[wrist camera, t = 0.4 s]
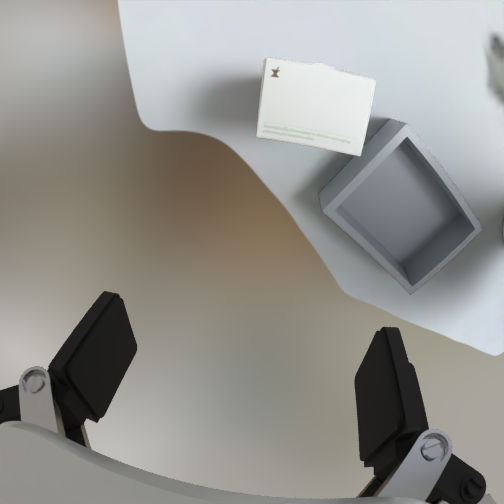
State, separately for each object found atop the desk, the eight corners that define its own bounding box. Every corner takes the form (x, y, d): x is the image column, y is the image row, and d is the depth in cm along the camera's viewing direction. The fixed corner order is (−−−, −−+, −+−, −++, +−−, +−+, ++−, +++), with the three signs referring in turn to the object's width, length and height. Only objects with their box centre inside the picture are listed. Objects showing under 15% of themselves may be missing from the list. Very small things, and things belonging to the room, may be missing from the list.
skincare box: (267, 121, 33) (248, 140, 20) (274, 71, 30) (260, 53, 17) (334, 134, 33) (361, 162, 20) (343, 84, 29) (378, 77, 16)
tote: (463, 211, 34) (482, 228, 29) (399, 270, 41) (410, 294, 36) (390, 118, 30) (406, 123, 25) (318, 193, 37) (321, 211, 32)
